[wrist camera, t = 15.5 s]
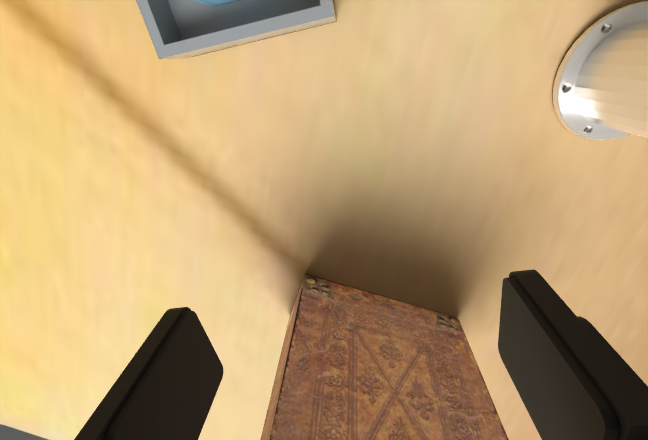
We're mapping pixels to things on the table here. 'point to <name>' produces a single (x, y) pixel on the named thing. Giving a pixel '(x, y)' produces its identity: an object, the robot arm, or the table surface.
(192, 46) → the grey square tray
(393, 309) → the book
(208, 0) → the teal crate
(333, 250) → the table surface
